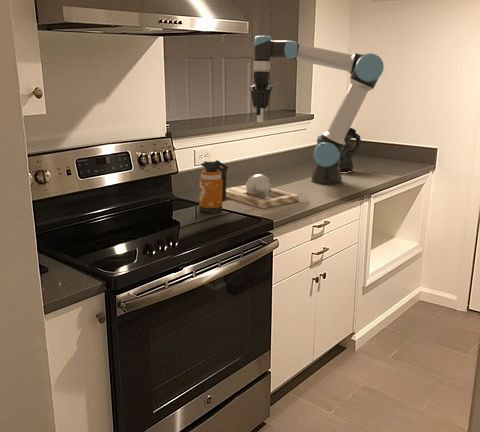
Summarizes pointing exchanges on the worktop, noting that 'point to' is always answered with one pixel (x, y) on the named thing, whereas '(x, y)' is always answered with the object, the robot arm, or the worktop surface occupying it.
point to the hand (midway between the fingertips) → (260, 122)
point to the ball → (258, 186)
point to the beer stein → (349, 151)
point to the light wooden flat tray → (242, 195)
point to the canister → (212, 186)
